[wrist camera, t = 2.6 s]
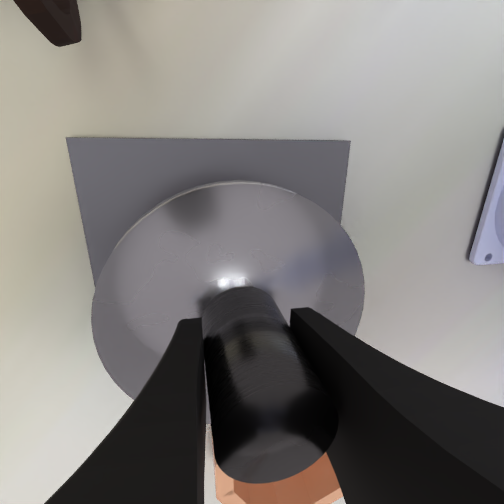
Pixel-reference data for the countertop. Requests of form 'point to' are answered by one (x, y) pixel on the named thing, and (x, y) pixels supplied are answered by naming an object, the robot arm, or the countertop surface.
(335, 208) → the mat
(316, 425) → the lid
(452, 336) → the countertop surface
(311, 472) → the bowl
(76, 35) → the coffee mug
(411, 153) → the countertop surface
